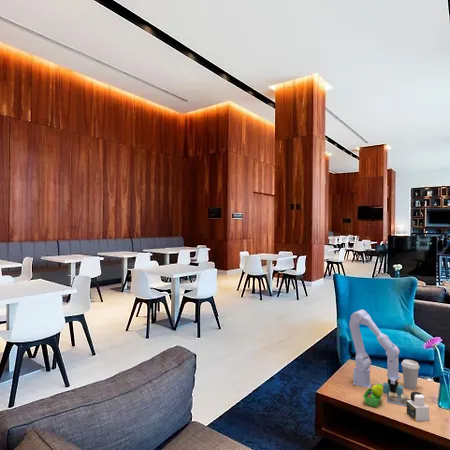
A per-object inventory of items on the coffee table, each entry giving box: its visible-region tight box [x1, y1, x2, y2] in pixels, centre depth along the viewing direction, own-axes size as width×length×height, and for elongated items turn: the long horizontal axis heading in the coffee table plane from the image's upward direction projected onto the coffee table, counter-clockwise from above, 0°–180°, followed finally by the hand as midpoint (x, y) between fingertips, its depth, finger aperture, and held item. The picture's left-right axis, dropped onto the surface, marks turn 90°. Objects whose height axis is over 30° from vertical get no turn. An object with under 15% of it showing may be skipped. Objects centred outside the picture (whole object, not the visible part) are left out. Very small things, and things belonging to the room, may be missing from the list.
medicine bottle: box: [406, 391, 430, 422], centre depth 167 cm, size 7×7×12 cm
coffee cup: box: [401, 359, 420, 390], centre depth 198 cm, size 10×10×15 cm
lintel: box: [382, 381, 404, 397], centre depth 190 cm, size 10×4×5 cm, turn 63°
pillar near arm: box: [388, 392, 397, 402], centre depth 183 cm, size 4×4×3 cm
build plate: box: [386, 393, 411, 408], centre depth 182 cm, size 12×10×1 cm
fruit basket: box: [362, 383, 384, 408], centre depth 180 cm, size 11×9×11 cm
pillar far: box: [400, 393, 411, 404], centre depth 180 cm, size 4×4×3 cm
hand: (393, 391), depth 190 cm, fingers closed on lintel, 4 cm apart
